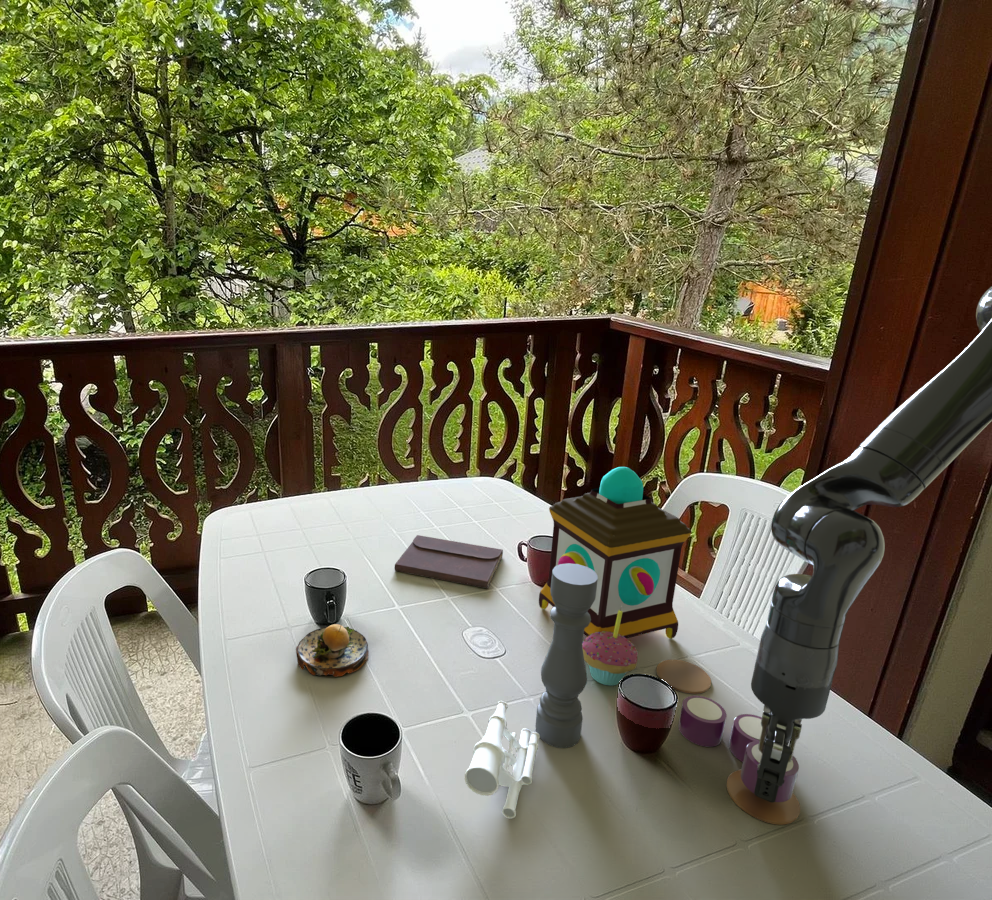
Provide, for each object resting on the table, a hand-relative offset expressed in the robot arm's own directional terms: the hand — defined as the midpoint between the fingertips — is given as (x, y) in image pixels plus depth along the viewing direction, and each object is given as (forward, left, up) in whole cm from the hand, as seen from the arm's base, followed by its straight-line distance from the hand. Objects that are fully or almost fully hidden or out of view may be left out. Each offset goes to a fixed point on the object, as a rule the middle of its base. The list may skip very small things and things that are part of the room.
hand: (767, 780), depth 78 cm
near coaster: (0, 0, -3) cm, 3 cm away
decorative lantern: (+28, -27, -3) cm, 39 cm away
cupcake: (+23, -12, -3) cm, 26 cm away
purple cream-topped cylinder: (+9, -8, -3) cm, 12 cm away
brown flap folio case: (+62, -30, -3) cm, 69 cm away
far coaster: (+13, -19, -3) cm, 23 cm away
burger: (+62, +9, -3) cm, 63 cm away
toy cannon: (+28, +15, -3) cm, 32 cm away
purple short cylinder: (0, 0, -1) cm, 1 cm away
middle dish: (+2, -8, -3) cm, 8 cm away
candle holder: (+25, +4, -3) cm, 26 cm away
